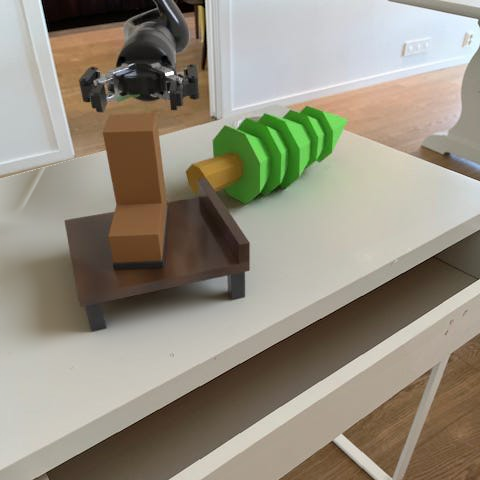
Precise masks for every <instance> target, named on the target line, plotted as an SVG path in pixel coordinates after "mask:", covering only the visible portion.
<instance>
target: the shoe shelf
mask: <svg viewBox="0 0 480 480" xmlns="http://www.w3.org/2000/svg"><path fill="white" fill-rule="evenodd" d="M198 193H199V196H197V197H191V198H185V199H178V200H174V201H167V207H168V209H169V216H168V226H167V236H166V247H165V257H164V267H163V268H148V269H125V270H114V268H113V257H112V252H111V247H110V242H109V238H108V236H109V232H110V228H111V224H112V220H113V216H114V212H115V211H110V212H104V213H97V214H92V215H87V216H80V217H75V218H70V219H69V218H68V219H64V226H65V232H66V239H67V245H68V249H69V255H70V261H71V266H72V273H73V278H74V284H75V290H76V291H75V292H76V296H77V301H78V304H79V307H81V308H82V307H84V308H85V309H84V310H85V313H86V316H87V320H88V324H89V328H90V332H98V331H101V330H106V329H107V328H108V327H107V322H106V318H105V315H104V314H105V313H104V310H103V306H102V303H104V302H105V303H106V302H110V301H115V300H119V299H124V298H128V297H129V298H130V297H133V296H138V295H143V294H147V293H152V292H157V291H161V290H165V289H171V288H175V287H180V286H184V285H189V284H194V283H200V282H203V281H209V280H212V279H218V278H222V277H226V276H227V277H226V279H227V293H228V295H229V296H230V299H231V300H237V299H242V298H246V272H250V270H251V265H250V264H251V258H250V257H251V253H250V252H251V250H250V249H251V248H250V247H251V245H250V244H251V243H250V241H249V239H248V237H247V236H246V234H244V232H243V230H242V229H241V228H240V226H239V224H238V222H236V219H234V217H233V216H232V214H231V212H230V211H229V209H228V208H227V206H226V204H224V202H223V201H222V199H221V198H220V196H219V195H218V193H217V192H215V190H214V189H213V187H212V186H211V184H210V183H209V181H208V180H207V178H204V179H198Z"/></svg>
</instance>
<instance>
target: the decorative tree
mask: <svg viewBox="0 0 480 480" xmlns="http://www.w3.org/2000/svg"><path fill="white" fill-rule="evenodd" d="M348 121H349V119H348V118H347V117H346V118H345V117H342V116H339V115H337V114H333V113H330V112H327V111H325V110H321V109H317V108H315V107H311V106H309V105H306V106H304V107H303V108H302V110H301V111H299V112H298V111H295V110H293V109H289V110H288V111H287V112H286V113H285V115H284V116H282V117H280V116H277V115H274V114H269V113H267V112H265V113H263V115H262V116H261V117H260V118H259V119H258V120H257V121H256V120H253V119H251V118H248V117H246V118H245V119H243V121H242V122H241V123H240V125H239V126H238V127H237V128H234V127H231V126H228V125H223V126H222V128H221V129H220V131H218V133H217V134H216V135H215V137H214V138H213V139H212V152H213V153H212V156H213V157H211V158H208V159H204V160H201V161H198V162H193V163H191V164H190V166H189V167H188V168H187V169H186V170H185V175H186V179H187V183H188V186H189V187H190V189H191V190H192V191H193V193H195V195H196V196H197V197H199V193H198V179H204V178H207V180H208V181H209V183H210V184H211V186H212V187H213V189H214V190H215V192H216V193H217V192H219V191H221V190H223V189H224V190H225V193H226V194H227V196H229V197H232V198H233V199H235V200H236V201H239V202H240V203H242V204H244V205H248V204H249V203H250V202H251V201H252V200H254V199H255V198H256V197H257V196H258V195H260V194H262V195H264V196H267V195H269V194H270V193H271V192H272V191H274V190H275V189H277V187H278V186H279V187H281V188H283V189H285V190H286V189H287V188H288V187H290V186H291V185H293V183H294V182H295V181H297V180H298V179H300V177H301V175H302V173H303V172H304V171H305V170H306V169H308V168H309V167H310V166H312V165H313V164H314V163H316V162H318V163H322V162H323V161H324V160H325V159H327V157H329V156H331V154H333V152H334V149H335V147H336V145H337V143H338V142H339V140H340V137H341V135H342V133H343V132H344V129H345V128H346V125H347V123H348Z"/></svg>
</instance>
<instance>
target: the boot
mask: <svg viewBox="0 0 480 480" xmlns="http://www.w3.org/2000/svg"><path fill="white" fill-rule="evenodd" d="M159 132H160V131H159V123H158V116H157V113H156V112H154V113H152V112H151V113H149V112H148V113H121V114H118V113H117V114H109V115H108V117H107V120H106V123H105V125H104V128H103V131H102V136H103V137H102V138H103V142H104V148H105V153H106V157H107V163H108V168H109V172H110V178H111V184H112V189H113V195H114V199H115V205H116V206H115V209H114V211H113V212H114V216H113V220H112V224H111V228H110V232H109V236H108V238H109V242H110V247H111V252H112V257H113V268H114V270H125V269H148V268H163V267H164V257H165V247H166V236H167V226H168V216H169V209H168V207H167V202H168V201H167V193H166V185H165V184H166V183H165V176H164V167H163V157H162V149H161V142H160V133H159Z"/></svg>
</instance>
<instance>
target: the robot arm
mask: <svg viewBox="0 0 480 480" xmlns="http://www.w3.org/2000/svg"><path fill="white" fill-rule="evenodd" d="M152 1H153V2H154V4H155V5H156V8H153V9H150V10H147V11H145V12H142V13H139V14H137V15H135V16H134V15H133V16H132V17H130V18H128V19H127V20H126V21H125V22H124V24H123V28H122V37H123V40H124V44H123V46H122V48H121V50H120V52H119V54H118V56H117V59H116V62H115V67H113V68H112V69H110V70H107V71H105V73H101V70H99V67H97V66H90V67H88V68H87V69H86V70H85V71H84V73H83V74H82V75H81V76H80V78H79V79H78V83H79V89H80V93H81V97H82V102H84V103H90V105H91V109H92V110H93V109H95V111H96V113H104V112H105V110H106V107H107V105H108V103H109V102H111V101H112V102H117V103H120V102H123V101H125V100H128V99H130V98H133V99H135V100H137V101H140V102H147V103H149V102H150V103H151V102H156V101H158V100H160V99H161V100H163V101H169V104H170V111H178V108H179V107H182V106H183V105H184V101H185V100H186V97H189V99H190V100H194V101H195V100H198V99H200V89H199V73H198V67H197V65H196V64H193V63H190V64H187V65H186V67H184V68H183V71H177V56H176V55H178V54H180V53H183V52H185V51H186V50H187V49H188V47H189V45H190V42H191V41H190V40H191V31H190V26H189V24H188V21H187V19H186V18H185V16H184V15H183V13H182V11H181V10H180V8H179V6H178V5H177V4H176V2H175V1H174V0H152ZM105 86H106V87H107V91H106V87H105Z"/></svg>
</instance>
